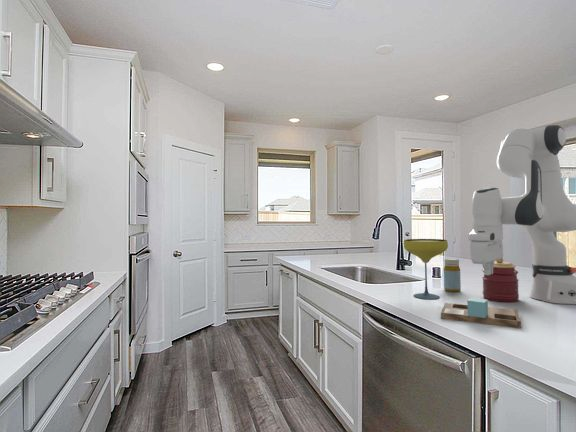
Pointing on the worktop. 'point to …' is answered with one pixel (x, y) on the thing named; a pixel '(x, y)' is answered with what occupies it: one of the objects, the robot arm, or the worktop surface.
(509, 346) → the worktop surface
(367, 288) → the worktop surface
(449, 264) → the bottle
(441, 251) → the cocktail glass
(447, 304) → the board
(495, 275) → the canister
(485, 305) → the teal block
